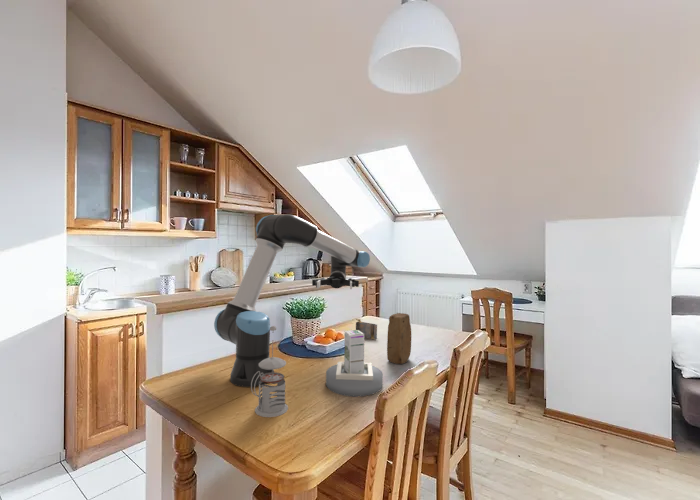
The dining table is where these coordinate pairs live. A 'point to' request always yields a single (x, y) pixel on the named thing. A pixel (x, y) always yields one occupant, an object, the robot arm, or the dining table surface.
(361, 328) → the ruin model on sheet
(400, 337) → the block
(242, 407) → the dining table surface
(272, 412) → the french press
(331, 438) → the dining table surface
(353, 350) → the syrup box
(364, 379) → the tower base
